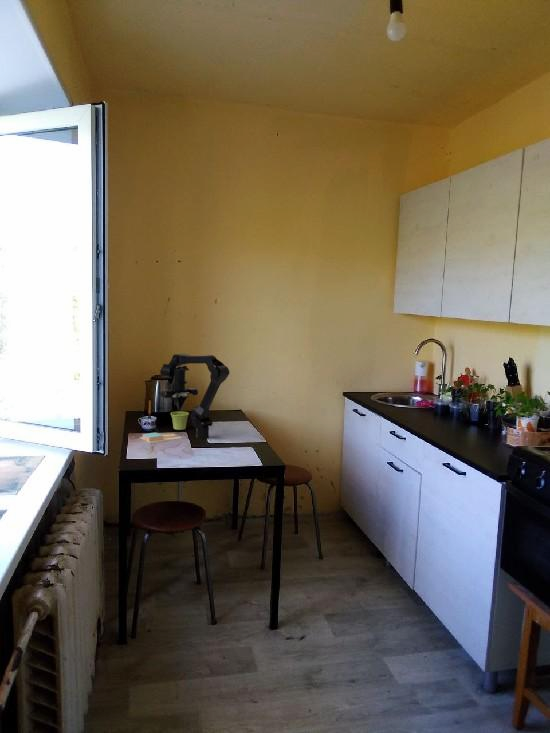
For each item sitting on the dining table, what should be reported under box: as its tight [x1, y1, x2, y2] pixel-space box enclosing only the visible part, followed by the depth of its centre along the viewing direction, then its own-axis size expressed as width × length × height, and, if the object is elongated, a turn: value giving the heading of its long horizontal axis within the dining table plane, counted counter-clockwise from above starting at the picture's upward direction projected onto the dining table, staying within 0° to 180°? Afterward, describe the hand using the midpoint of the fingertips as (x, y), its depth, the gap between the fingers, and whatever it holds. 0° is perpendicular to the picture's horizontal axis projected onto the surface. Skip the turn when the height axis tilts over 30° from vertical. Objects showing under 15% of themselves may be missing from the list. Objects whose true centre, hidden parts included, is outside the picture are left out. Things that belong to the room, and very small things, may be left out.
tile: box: [142, 432, 163, 443], centre depth 260 cm, size 7×2×7 cm
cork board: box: [139, 432, 183, 444], centre depth 263 cm, size 12×17×1 cm
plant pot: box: [170, 411, 190, 431], centre depth 283 cm, size 9×9×9 cm
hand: (179, 409), depth 272 cm, fingers closed
